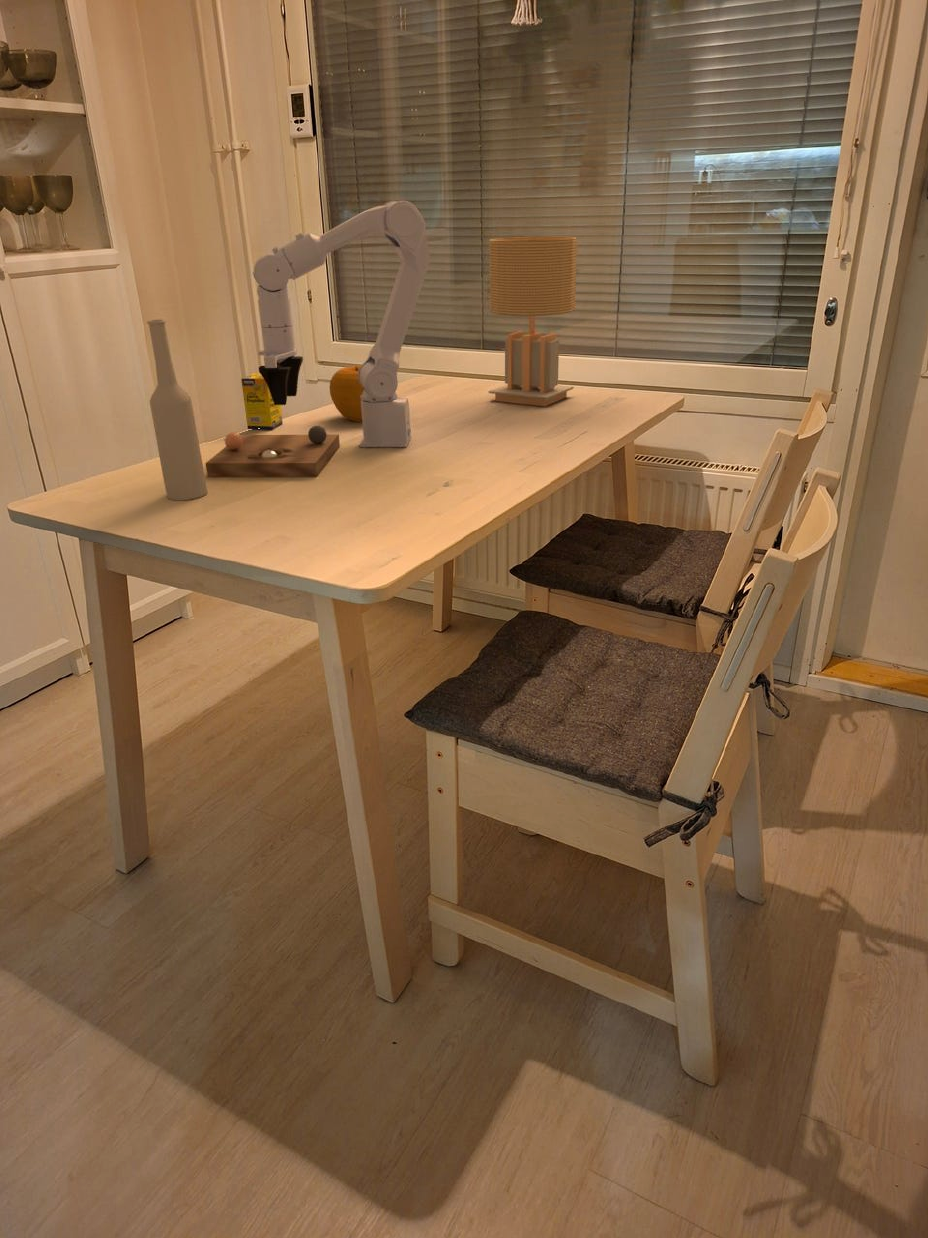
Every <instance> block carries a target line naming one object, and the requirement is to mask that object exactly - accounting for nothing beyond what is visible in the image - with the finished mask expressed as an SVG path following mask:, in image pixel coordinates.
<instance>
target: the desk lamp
mask: <svg viewBox="0 0 928 1238" xmlns="http://www.w3.org/2000/svg"><path fill="white" fill-rule="evenodd" d="M577 254H578V237H574V236H527V237H525V236H523V237H521V236H520V237H503V238H502V237H501V238H492V239H489V305H490V307H489V309H490V310H489V311H490V313H492V314H495V315H498V316H499V315H500V316H508V317H509V316H510V317H529V321H528V322H529V323H528V325H529V326H528V330H529V331H528V333H527V334H524V331H520V330H519V331H516V332H512V333H510V334H509V333H508V334H507V338H505V339H504V385H501V386H499V387H495V388H493V389H490V390H488V394H493V395H495V396H494V401H495V402H503V403H512V404H519V405H529V406H530V405H532V406H538V407H539V406H540V407H547V406H549V405H552V404H553V403H556V402H559V401H560V400H563V399H565V398H567V396H568V395H567V393H568V391H572V390H573V389H574V386H572V385H571V386H569V385H561V384H560V385H559V363H560V361H559V359H560V358H559V357H560V356H559V354H560V353H559V352H560V351H559V350H560V339H557V334H556V333H549V334H547V335H546V334H545V335H542V332H538V331H537V332H535V331H536V330H535V329H536V328H535V327H536V324H535V323H536V318H535V317H548V316H556V315H557V316H559V315H564V314H569V313H573V312H574V311H575V310H576V292H577V291H576V288H577V287H576V286H577V285H576V282H577V259H578V258H577Z"/></svg>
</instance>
